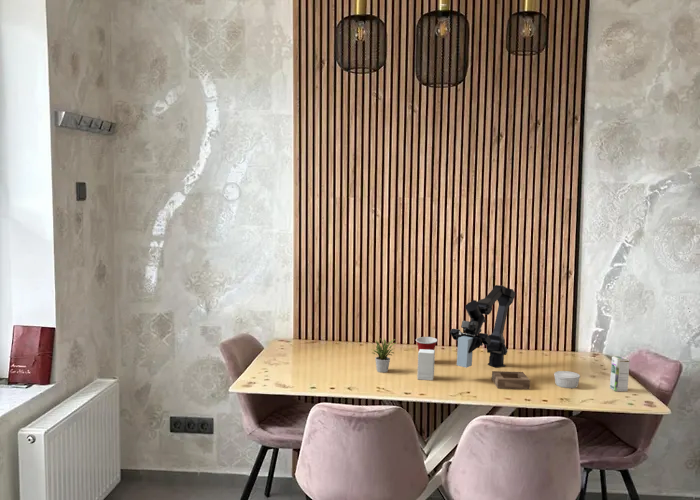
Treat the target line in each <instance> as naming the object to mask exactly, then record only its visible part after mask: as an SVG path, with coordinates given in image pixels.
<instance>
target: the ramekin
mask: <svg viewBox="0 0 700 500" xmlns="http://www.w3.org/2000/svg"><path fill="white" fill-rule="evenodd" d="M553 373H554V374H553V375H554V382H555V385H556V386H557V387H560V388H564V389H576V388H578V386H579V381H580V378H581V375H580V374H579V373H578V372H573V371H566V370H558V371H555V372H553Z"/></svg>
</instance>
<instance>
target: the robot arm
mask: <svg viewBox="0 0 700 500" xmlns="http://www.w3.org/2000/svg"><path fill="white" fill-rule="evenodd" d="M515 297H516V292H515V291H514V289H512V288H508V287H506V286H504V285H500V284H499V285H498V284H496V285H494V286H493V288H492V290H490V292H489V293H488V294H487V295H486V296H485V297H484V298H482V299H479V300H475V299H472V301H469V302H467V304H465V307H464V308H465V310H466V313H467V315H468V316H469V318H471V319H470V321H469V320H468V321H467V320H462V321H461V326H460V327H461V328H462V329H463V332H462V331H461V329H459V328H458V329H457V328H451V329H450V332H449V335H451V337H452V339H453V340H455V341H458V338H459V337H462V336H467V337H472V338H473V342H472V344H471V346H470V348H469V351H468V353H471V352H472V351H473V352H474V351H475V350H476V349H478V348H479V347H482V346H483V345H484V346H486V352H487V353H488V354H489V356H488V357H489V359H488V363H487V365H488V366H491V367H493V368H501V367H507V366H506V364H505V363H504V362H505V361H504V359H505V358H504V357H505V356H506V355H507V353H508V348H507V346H506V340H505V337H504V330H505V326H506V320H507V315H508V311H509V307H510V306H511V305H513V302H514V299H515ZM496 302H497V303H498V307H497V313H496V317H495V322H494V326H493V331H492V332H491V334H488V333H483V332H482V327H483V324H484V323H486V322H487V321H486V317H485V315H486V316H488V315H490V314H491V312H492V311H493V305H494V304H495V303H496Z"/></svg>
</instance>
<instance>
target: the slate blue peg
mask: <svg viewBox="0 0 700 500" xmlns="http://www.w3.org/2000/svg"><path fill="white" fill-rule="evenodd" d="M472 342H473V338H472V337H467V336H462V337H459V338H458V340H457V353H456V355H457V356H456V366H458V367H462V368H466V369H467V368H469V367H471V366H472V365H473V354H474V353H473V352H474V350H473V351H472V352H471V353H468V351H469V348H470V346H471V344H472Z"/></svg>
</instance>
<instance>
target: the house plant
mask: <svg viewBox="0 0 700 500" xmlns="http://www.w3.org/2000/svg"><path fill="white" fill-rule="evenodd" d="M396 340H397V339H395V338H394V339H392V340H391V341H387V340H386V338H385V337H383V339H380V341H381V345H380V343H379V342H378V340H377V339H374V341H375V343H376V345H375V347H376V349H373V348H371V351H373V352H372V354H373V355H377V356H375V365H376V366H375V367H376V372H378V373H388V372H389V366H390V362H391V357H388V356H393V355H392V354H395V352H393V350H395V349H396V348H392V347H393V346H394V345H396V342H394V341H396ZM393 342H394V343H393ZM371 344H373V345H374V343H372V342H371ZM389 346H390V347H389Z"/></svg>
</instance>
